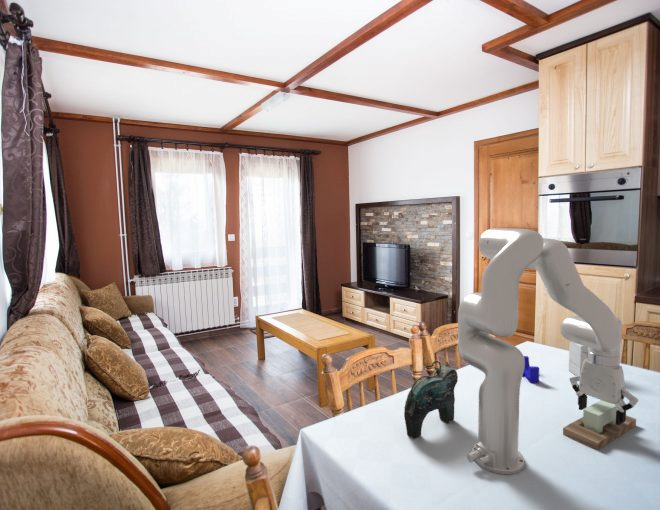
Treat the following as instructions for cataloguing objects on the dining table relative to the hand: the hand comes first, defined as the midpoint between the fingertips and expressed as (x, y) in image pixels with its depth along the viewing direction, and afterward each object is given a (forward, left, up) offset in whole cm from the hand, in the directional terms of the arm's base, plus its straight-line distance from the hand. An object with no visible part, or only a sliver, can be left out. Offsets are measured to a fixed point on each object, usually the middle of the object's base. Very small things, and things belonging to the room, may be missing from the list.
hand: (600, 415), depth 112 cm
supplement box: (+36, +22, -5) cm, 43 cm away
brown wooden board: (0, 0, -4) cm, 4 cm away
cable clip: (+17, +33, -5) cm, 38 cm away
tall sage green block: (0, 0, -4) cm, 4 cm away
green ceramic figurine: (-39, +27, -5) cm, 48 cm away
